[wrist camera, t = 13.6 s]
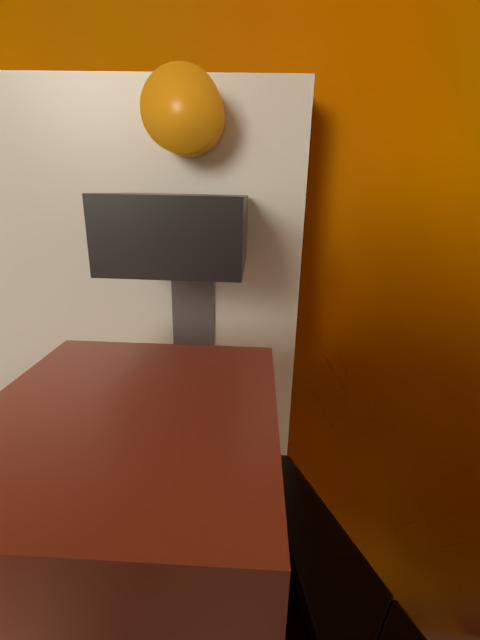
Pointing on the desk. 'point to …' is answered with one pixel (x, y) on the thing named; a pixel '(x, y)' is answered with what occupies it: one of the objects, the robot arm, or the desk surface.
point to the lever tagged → (166, 236)
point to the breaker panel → (150, 177)
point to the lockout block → (143, 495)
